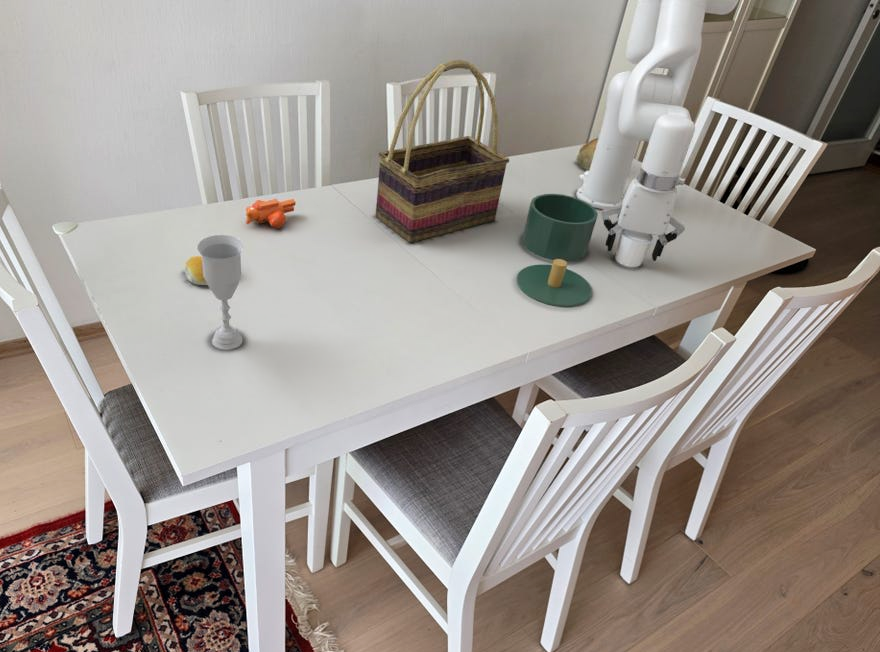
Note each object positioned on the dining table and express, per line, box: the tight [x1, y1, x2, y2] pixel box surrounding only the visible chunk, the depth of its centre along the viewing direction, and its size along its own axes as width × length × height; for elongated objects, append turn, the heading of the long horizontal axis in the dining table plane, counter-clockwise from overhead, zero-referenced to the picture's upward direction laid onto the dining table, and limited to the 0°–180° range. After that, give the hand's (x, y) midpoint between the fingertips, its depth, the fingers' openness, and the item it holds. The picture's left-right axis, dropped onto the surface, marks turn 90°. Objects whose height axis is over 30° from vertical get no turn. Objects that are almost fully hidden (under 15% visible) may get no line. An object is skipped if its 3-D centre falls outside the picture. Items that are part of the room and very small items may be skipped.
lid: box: [516, 259, 593, 308], centre depth 137 cm, size 15×15×6 cm
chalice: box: [197, 234, 244, 351], centre depth 109 cm, size 7×7×18 cm
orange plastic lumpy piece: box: [245, 198, 297, 229], centre depth 147 cm, size 5×8×12 cm
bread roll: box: [183, 255, 208, 286], centre depth 129 cm, size 8×9×4 cm
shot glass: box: [614, 228, 654, 268], centre depth 148 cm, size 7×7×7 cm
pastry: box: [575, 137, 599, 171], centre depth 190 cm, size 14×12×8 cm
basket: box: [375, 59, 510, 244], centre depth 147 cm, size 26×15×35 cm, turn 126°
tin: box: [521, 193, 599, 262], centre depth 150 cm, size 14×14×10 cm
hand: (631, 253), depth 149 cm, fingers open, 9 cm apart
